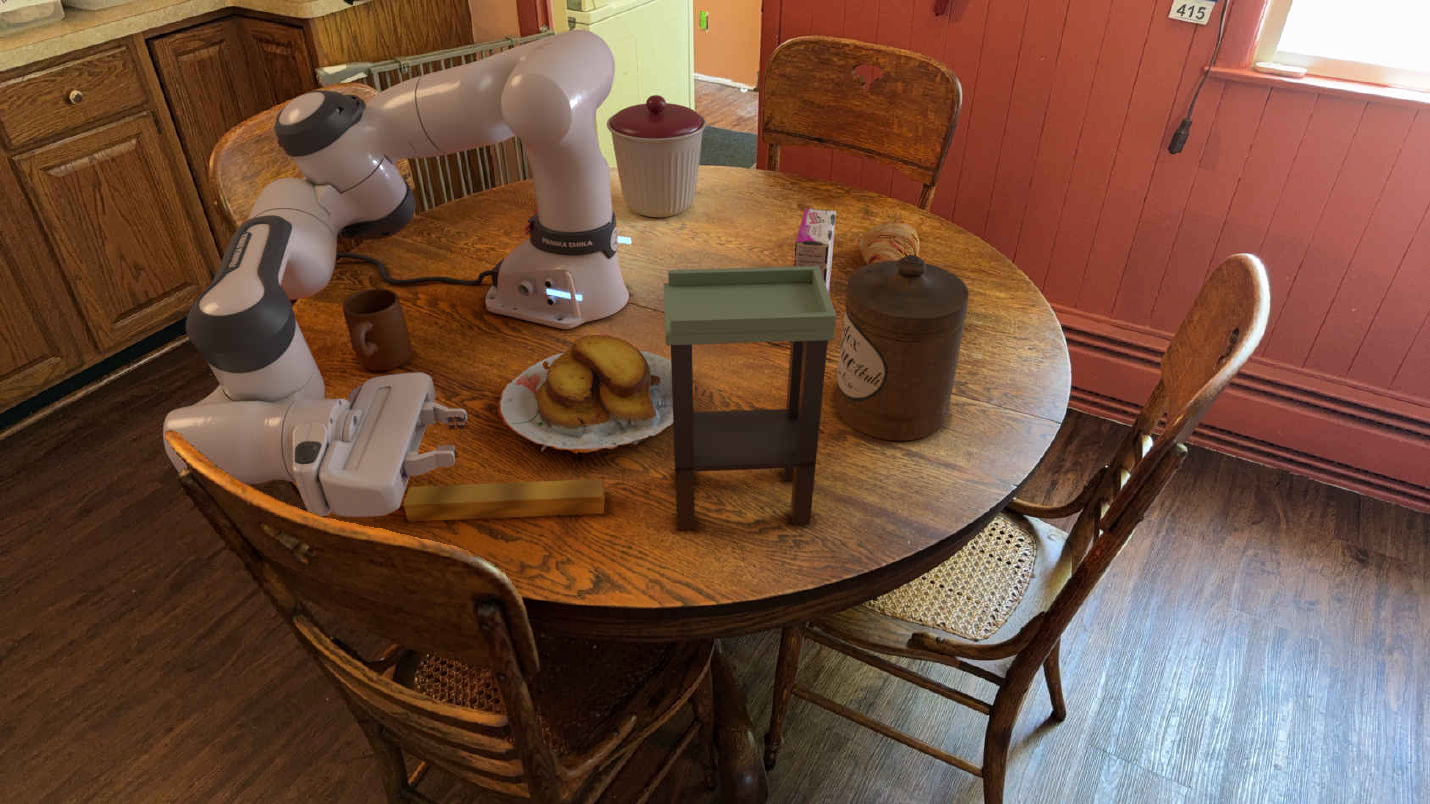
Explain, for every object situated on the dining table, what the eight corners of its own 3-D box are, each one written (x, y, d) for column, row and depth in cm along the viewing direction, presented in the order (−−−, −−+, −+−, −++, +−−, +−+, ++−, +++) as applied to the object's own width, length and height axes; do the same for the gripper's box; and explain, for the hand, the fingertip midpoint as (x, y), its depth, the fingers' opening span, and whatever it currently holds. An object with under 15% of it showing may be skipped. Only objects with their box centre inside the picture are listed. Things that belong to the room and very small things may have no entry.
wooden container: (826, 376, 120) (840, 232, 106) (930, 373, 120) (957, 229, 107) (845, 444, 108) (863, 291, 95) (960, 440, 108) (995, 287, 95)
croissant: (893, 310, 141) (922, 276, 135) (842, 277, 140) (870, 241, 135) (909, 251, 157) (936, 219, 151) (863, 222, 156) (888, 187, 151)
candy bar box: (797, 303, 136) (804, 206, 126) (828, 306, 135) (838, 209, 125) (787, 340, 127) (794, 239, 117) (821, 344, 126) (830, 243, 116)
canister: (721, 197, 169) (722, 88, 156) (681, 234, 156) (678, 118, 143) (640, 182, 175) (635, 76, 162) (595, 216, 162) (585, 103, 149)
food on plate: (465, 444, 107) (455, 402, 104) (555, 343, 126) (550, 304, 123) (653, 487, 101) (650, 444, 97) (719, 374, 120) (719, 334, 116)
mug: (398, 391, 117) (382, 332, 111) (341, 392, 116) (322, 333, 111) (419, 343, 126) (405, 287, 120) (367, 344, 126) (351, 288, 120)
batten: (408, 524, 97) (403, 504, 95) (414, 505, 99) (409, 486, 98) (603, 515, 98) (601, 496, 96) (604, 497, 100) (602, 478, 99)
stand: (672, 532, 95) (664, 321, 79) (670, 473, 103) (663, 269, 87) (814, 526, 96) (836, 315, 80) (802, 467, 104) (819, 265, 88)
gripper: (361, 404, 101) (480, 401, 102) (306, 529, 85) (448, 524, 86) (348, 360, 97) (472, 357, 98) (288, 482, 81) (436, 477, 82)
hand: (460, 436), depth 92 cm, fingers open, 5 cm apart
